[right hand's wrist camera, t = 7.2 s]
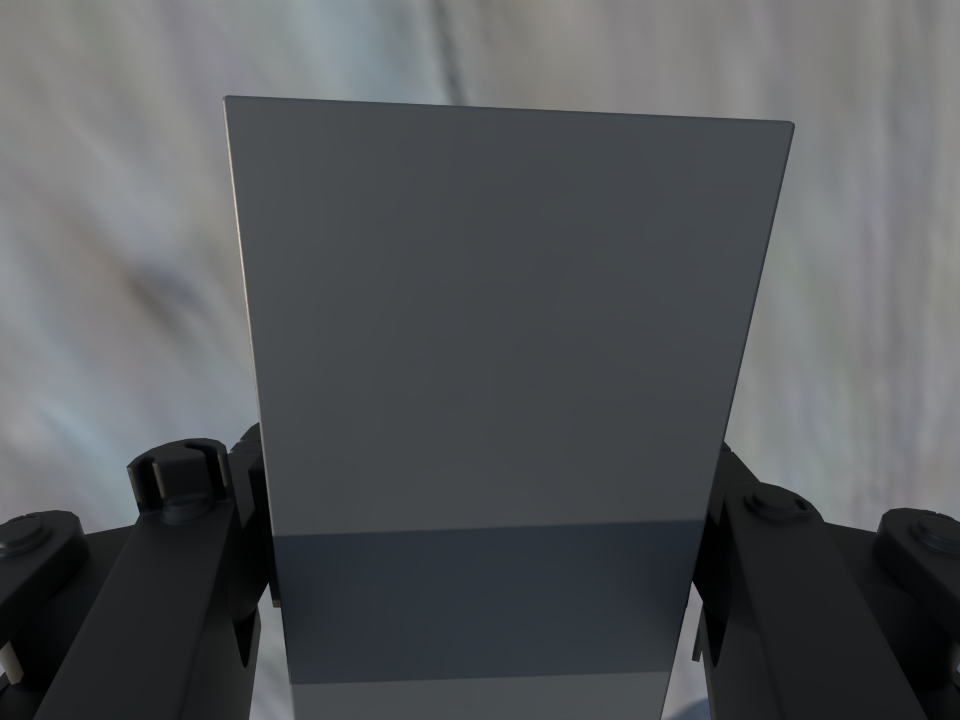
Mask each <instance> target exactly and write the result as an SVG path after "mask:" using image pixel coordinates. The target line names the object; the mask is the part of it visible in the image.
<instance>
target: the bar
mask: <svg viewBox="0 0 960 720" xmlns="http://www.w3.org/2000/svg"><path fill="white" fill-rule="evenodd" d="M222 105H223V114H224V122H225V131H226V139H227V148H228V157H229V165H230V174H231V182H232V191H233V200H234V208H235V217H236V225H237V234H238V243H239V251H240V260H241V268H242V277H243V286H244V294H245V303H246V311H247V320H248V329H249V337H250V346H251V355H252V363H253V372H254V380H255V389H256V398H257V406H258V415H259V423H260V432H261V441H262V449H263V458H264V466H265V475H266V484H267V492H268V501H269V509H270V518H271V527H272V535H273V544H274V552H275V561H276V570H277V578H278V587H279V596H280V604H281V613H282V621H283V630H284V639H285V647H286V656H287V664H288V673H289V682H290V690H291V699H292V707H293V716H294V720H661V716H662V712H663V707H664V703H665V699H666V694H667V690H668V685H669V681H670V677H671V672H672V668H673V663H674V659H675V654H676V650H677V646H678V641H679V637H680V632H681V628H682V624H683V619H684V615H685V610H686V606H687V601H688V597H689V593H690V588H691V584H692V579H693V575H694V571H695V566H696V562H697V557H698V553H699V548H700V544H701V540H702V535H703V531H704V526H705V522H706V518H707V513H708V509H709V504H710V500H711V495H712V491H713V487H714V482H715V478H716V473H717V469H718V465H719V460H720V456H721V451H722V447H723V442H724V438H725V434H726V429H727V425H728V420H729V416H730V412H731V407H732V403H733V398H734V394H735V389H736V385H737V381H738V376H739V372H740V367H741V363H742V359H743V354H744V350H745V345H746V341H747V336H748V332H749V328H750V323H751V319H752V314H753V310H754V306H755V301H756V297H757V292H758V288H759V283H760V279H761V275H762V270H763V266H764V261H765V257H766V253H767V248H768V244H769V239H770V235H771V230H772V226H773V222H774V217H775V213H776V208H777V204H778V200H779V195H780V191H781V186H782V182H783V177H784V173H785V169H786V164H787V160H788V155H789V151H790V147H791V142H792V138H793V133H794V129H795V124H794V123H792V122H790V121H777V120H755V119H733V118H711V117H689V116H667V115H646V114H624V113H602V112H580V111H558V110H536V109H514V108H493V107H471V106H449V105H427V104H405V103H383V102H361V101H339V100H318V99H296V98H274V97H252V96H230V95H227V96H225V97H223V99H222Z"/></svg>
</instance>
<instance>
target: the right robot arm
mask: <svg viewBox="0 0 960 720" xmlns="http://www.w3.org/2000/svg"><path fill="white" fill-rule="evenodd" d="M127 470H128V474H129V477H130V481H131V484H132V488H133V492H134V495H135V499H136V502H137V506H138V509H139V513H140V515H139V517H138V519H137V521H136V523H135V525H131V526H127V527H122V528H117V529H112V530H106V531H101V532H96V533H91V534H86V535H84V532H83V529H82V526H81V523H80V520H79V517H77V516H76V515H75V514H73V513H72V512H68V511H59V510H53V511H45V512H35V513H30V514H26V516H23V515H22V516H19V517H16V518H13V519H11V520H9V521H8V522H6V523H4V524H2V525H0V661H1V663H2V666H3V668H4V670H5V672H4V673H3V674H2V676H1V677H0V720H249V715H250V708H251V700H252V692H253V685H254V677H255V670H256V662H257V655H258V647H259V639H260V632H261V621H260V614H259V609H258V602H259V600H260V598H261V596H262V594H263V592H264V590H265V588H266V586H267V584H268V582H269V587H270V592H271V597H272V603H273V607H281V604H280V596H279V587H278V578H277V570H276V561H275V552H274V544H273V535H272V527H271V518H270V509H269V501H268V492H267V484H266V475H265V466H264V458H263V449H262V441H261V432H260V423H259V422H258V423H257V424H255V425H253V426H252V427H250V429H249V430H248V431H247V432H246V433H245V434H244V435H243V436H242V438H241V439H240V440H239V443H236V444H235V446H234V447H233V448H232V449H231V450H230V454H227V450H226V446H225V445H224V444H222V443H221V442H219V441H218V440H213V439H207V438H195V439H185V440H180V441H175V442H170V443H167V444H164V445H161V446H158V447H156V448H153V449H151V450H149V451H147V452H145V453H143V454H142V455H140V456H138V457H136V458H135V459H134V460H133V461H132V462H131V463H130V464H129V465H128V466H127ZM692 581H693V583H694V585H695V587H696V589H697V591H698V593H699V595H700V597H701V598H702V600H703V604H702V609H701V614H700V619H699V624H698V629H697V634H696V639H695V644H694V649H693V656H692V660H693V661H697V662H699V660H700V655H701V651H702V653H703V661H704V668H705V676H706V684H707V691H708V699H709V706H710V714H711V720H960V673H959V672H958V671H957V670H956V669H957V667H958V665H959V662H960V522H959V521H956V520H954V519H953V518H952V517H949V516H947V515H943V514H940V513H938V514H936V512H933V511H928V510H919V509H911V508H899V509H891V510H889V511H888V512H886V513H885V514H883V515H882V518H881V521H880V524H879V527H878V530H877V533H876V532H871V531H866V530H861V529H856V528H851V527H845V526H840V525H835V524H831V523H827V522H824V520H823V518H822V516H821V515H820V513H819V512H818V511H817V510H816V508H815V507H814V506H813V505H812V504H811V503H810V502H808V501H807V500H805V499H804V498H802V497H801V496H799V495H798V494H796V493H794V492H791V491H789V490H787V489H784V488H782V487H780V486H775V485H771V484H767V483H763V482H760V481H759V480H758V479H757V478H756V477H755V476H754V475H753V473H752V472H751V471H750V470H749V469H748V468H747V467H746V466H745V464H744V463H743V462H742V461H741V460H740V459H739V458H738V456H737V455H736V454H735V453H734V452H731V449H730V447H729V446H728V445H727V444H726V443H725V442H723V447H722V451H721V456H720V460H719V465H718V469H717V473H716V478H715V482H714V487H713V491H712V495H711V500H710V504H709V509H708V513H707V518H706V522H705V526H704V531H703V535H702V540H701V544H700V548H699V553H698V557H697V562H696V566H695V571H694V575H693V579H692ZM690 589H691V588H690ZM689 594H690V593H689ZM688 599H689V597H688ZM687 605H688V601H687ZM686 608H687V606H686Z"/></svg>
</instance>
